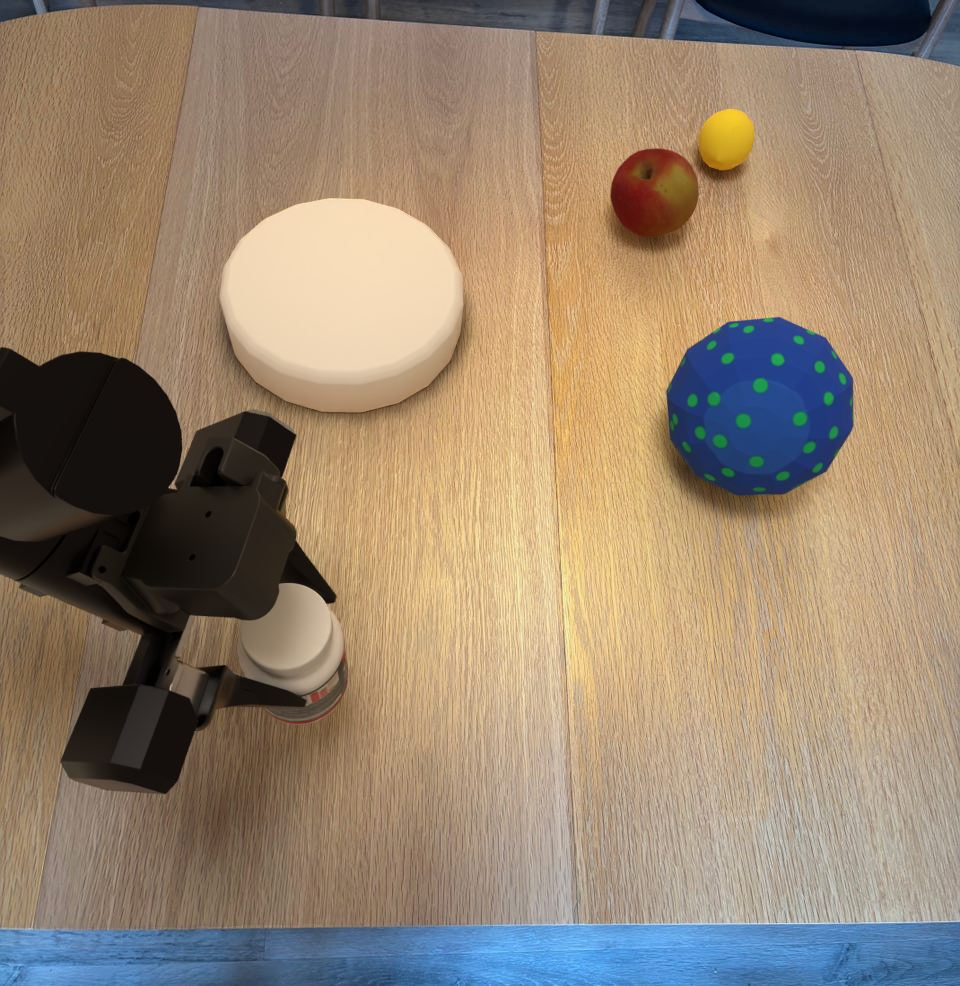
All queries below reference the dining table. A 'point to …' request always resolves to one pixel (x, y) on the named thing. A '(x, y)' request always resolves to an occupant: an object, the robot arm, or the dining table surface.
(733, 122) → the lemon
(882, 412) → the dining table surface
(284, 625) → the pill bottle
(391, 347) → the container
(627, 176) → the apple
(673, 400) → the green-spotted blue ball
